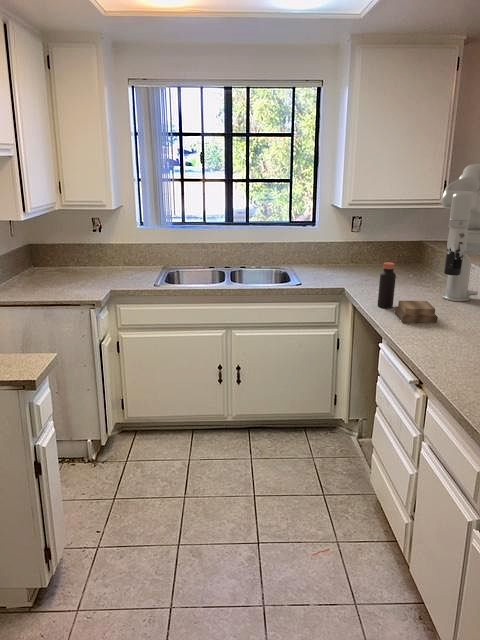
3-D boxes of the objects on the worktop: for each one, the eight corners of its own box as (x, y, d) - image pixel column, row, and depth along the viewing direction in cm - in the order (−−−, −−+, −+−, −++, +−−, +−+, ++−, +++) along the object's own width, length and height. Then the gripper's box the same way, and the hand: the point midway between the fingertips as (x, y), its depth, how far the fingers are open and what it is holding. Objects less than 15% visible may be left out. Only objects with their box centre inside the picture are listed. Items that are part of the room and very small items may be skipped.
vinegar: (382, 309, 233) (386, 265, 227) (374, 304, 239) (378, 262, 233) (395, 307, 235) (400, 264, 228) (387, 303, 241) (391, 261, 235)
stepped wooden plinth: (427, 313, 227) (428, 300, 225) (436, 323, 213) (438, 309, 211) (394, 313, 227) (395, 299, 225) (402, 323, 214) (403, 309, 212)
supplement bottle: (450, 276, 215) (454, 247, 211) (439, 272, 221) (443, 244, 217) (464, 275, 216) (468, 246, 213) (453, 271, 223) (457, 243, 219)
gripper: (476, 227, 204) (469, 271, 209) (460, 221, 220) (454, 262, 226) (456, 226, 204) (451, 271, 210) (442, 221, 220) (437, 262, 226)
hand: (453, 266), depth 218 cm, fingers closed on supplement bottle, 6 cm apart
